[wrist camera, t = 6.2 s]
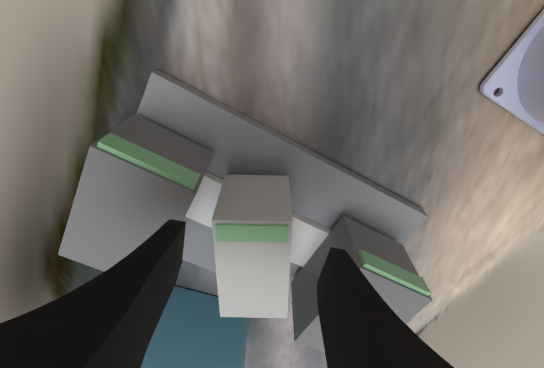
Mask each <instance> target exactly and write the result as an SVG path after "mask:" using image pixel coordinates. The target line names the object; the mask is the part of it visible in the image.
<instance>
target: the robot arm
mask: <svg viewBox="0 0 544 368" xmlns="http://www.w3.org/2000/svg"><path fill="white" fill-rule="evenodd" d="M497 88H499V91H498V93H497V94H495V95H494V91H495V90H496V89H497ZM480 92H481V94H483V95H484V96H486V97H487V98H489V99H490V100H492V101H493V102H495V103H496V104H498V105H499V106H501V107H502V108H504V109H505V110H507V111H508V112H510V113H511V114H513V115H514V116H516V117H517V118H519V119H520V120H522V121H523V122H525V123H526V124H528V125H529V126H531V127H532V128H534V129H535V130H537V131H538V132H540V133H541V134H543V135H544V9H543V10H542V12H541V13H540V14H539V15H538V16H537V18H536V19H535V20H534V21H533V22H532V24H531V25H530V26H529V27H528V28H527V30H526V31H525V32H524V33H523V34H522V36H521V37H520V38H519V39H518V40H517V42H516V43H515V44H514V45H513V46H512V48H511V49H510V50H509V51H508V52H507V54H506V55H505V56H504V57H503V58H502V60H501V61H500V62H499V63H498V64H497V66H496V67H495V68H494V69H493V70H492V71H491V73H490V74H489V75H488V76H487V77H486V79H485V80H484V81H483V82H482V84H481V85H480ZM185 227H186V222H184V221H178V220H173V219H169V220H168V221H166V222H165V223H164V224H163V225H162V226H161V227H160V228H159V229H158V230H157V231H156V232H155V233H154V234H153V235H151V236H150V237H149V238H148V239H147V240H146V241H144V242H143V243H142V244H141V245H140V246H138V247H137V248H136V249H135V250H134V251H132V252H131V253H130V254H128V255H127V256H126V257H124V258H123V259H122V260H120V261H119V262H118V263H116V264H115V265H114V266H112V267H111V268H109V269H108V270H106V271H105V272H103V273H102V274H100V275H99V276H97V277H95V278H94V279H92V280H91V281H89V282H87V283H85V284H84V285H82V286H80V287H78V288H77V289H75V290H73V291H71V292H69V293H67V294H66V295H64V296H62V297H60V298H58V299H56V300H54V301H52V302H50V303H48V304H45V305H43V306H41V307H39V308H37V309H34V310H32V311H30V312H28V313H25V314H23V315H21V316H18V317H16V318H13V319H11V320H8V321H6V322H3V323H0V368H141V365H142V362H143V359H144V356H145V353H146V350H147V348H148V345H149V343H150V340H151V338H152V336H153V333H154V331H155V329H156V327H157V324H158V322H159V320H160V318H161V315H162V313H163V311H164V309H165V306H166V304H167V302H168V300H169V297H170V295H171V293H172V291H173V288H174V286H175V283H176V280H177V277H178V274H179V270H180V267H181V264H182V258H183V248H184V238H185ZM317 305H318V313H319V319H320V325H321V331H322V337H323V343H324V349H325V355H326V360H327V367H328V368H454V367H453V366H451V365H450V364H449V363H448V362H446V361H445V360H444V359H443V358H442V357H440V356H439V355H438V354H437V353H436V352H435V351H433V350H432V349H431V348H430V347H429V346H428V345H427V344H426V343H425V342H423V341H422V340H421V339H420V338H419V337H418V336H417V335H416V334H415V333H414V332H413V331H412V330H411V329H410V328H409V327H408V326H407V325H406V324H405V323H404V322H403V321H402V320H401V319H400V318H399V317H398V316H397V315H396V314H395V312H394V311H393V310H392V309H391V308H390V307H389V306H388V304H387V303H386V302H385V301H384V300H383V299H382V297H381V296H380V295H379V294H378V292H377V291H376V290H375V289H374V287H373V286H372V285H371V284H370V282H369V281H368V280H367V278H366V277H365V276H364V274H363V273H362V272H361V270H360V269H359V267H358V266H357V265H356V263H355V262H354V261H353V259H352V258H351V256H350V255H349V254H348V252H347V251H346V250H344V249H339V248H333V247H330V250H329V253H328V255H327V258H326V261H325V263H324V266H323V269H322V271H321V274H320V277H319V279H318V282H317Z"/></svg>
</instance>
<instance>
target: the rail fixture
mask: <svg viewBox="0 0 544 368" xmlns="http://www.w3.org/2000/svg"><path fill="white" fill-rule="evenodd" d="M225 175H276V176H289V185H290V197H291V209H292V221H293V223H292V241H291V258H290V275H289V293H288V302H290V303H292V307H293V324H294V341H295V342H297V343H300V344H303V345H306V346H308V347H311V348H314V349H316V350H319V351H322V352H325V349H324V343H323V337H322V331H321V325H320V319H319V313H318V305H317V282H318V279H319V277H320V274H321V271H322V269H323V266H324V263H325V261H326V258H327V255H328V253H329V250H330V247H333V248H339V249H344V250H346V251H347V252H348V254H349V255H350V256H351V258H352V259H353V261H354V262H355V263H356V265H357V266H358V267H359V269H360V270H361V272H362V273H363V274H364V276H365V277H366V278H367V280H368V281H369V282H370V284H371V285H372V286H373V287H374V289H375V290H376V291H377V292H378V294H379V295H380V296H381V297H382V299H383V300H384V301H385V302H386V303H387V304H388V306H389V307H390V308H391V309H392V310H393V311H394V312H395V314H396V315H397V316H398V317H399V318H400V319H401V320H402V321H403V322H404V323H405V324H406V323H407V322H408V321H409V320H411V319H412V318H413V317H414V316H415V315H416V314H417V313H418V312H419V311H421V310H422V309H423V308H424V307H425V306H426V305H427V304H428V303H429V302H431V301H432V299H431V297H430V294H431V292H430V290H429V289H428V287H427V285H426V283H425V281H424V280H423V278H422V277H420V276H419V275H418V273H417V271H416V269H415V267H414V265H413V264H412V262H411V260H410V258H409V256H408V254H407V252H406V251H405V249H404V247H403V245H402V243H403V242H404V241H405V240H406V239H407V238H408V237H409V236H410V235H411V234H412V233H413V232H414V231H415V230H416V229H417V227H418V226H419V225H420V224H421V223H422V222H423V221H424V220H425V219H426V218H427V217H428V216H427V214H426V213H425V212H424V210H423V209H422V208H420V207H418V206H416V205H414V204H412V203H411V202H409V201H407V200H405V199H403V198H401V197H399V196H397V195H395V194H394V193H392V192H390V191H388V190H386V189H384V188H382V187H380V186H378V185H376V184H375V183H373V182H371V181H369V180H367V179H365V178H363V177H361V176H359V175H357V174H356V173H354V172H352V171H350V170H348V169H346V168H344V167H342V166H340V165H338V164H337V163H335V162H333V161H331V160H329V159H327V158H325V157H323V156H321V155H319V154H318V153H316V152H314V151H312V150H310V149H308V148H306V147H304V146H302V145H300V144H299V143H297V142H295V141H293V140H291V139H289V138H287V137H285V136H283V135H281V134H280V133H278V132H276V131H274V130H272V129H270V128H268V127H266V126H264V125H262V124H261V123H259V122H257V121H255V120H253V119H251V118H249V117H247V116H245V115H243V114H242V113H240V112H238V111H236V110H234V109H232V108H230V107H228V106H226V105H224V104H223V103H221V102H219V101H217V100H215V99H213V98H211V97H209V96H207V95H206V94H204V93H202V92H200V91H198V90H196V89H194V88H192V87H190V86H188V85H187V84H185V83H183V82H181V81H179V80H177V79H175V78H173V77H171V76H169V75H168V74H166V73H164V72H162V71H160V70H158V69H157V70H155V71H153V72H151V75H150V78H149V81H148V84H147V86H146V89H145V92H144V95H143V98H142V101H141V104H140V106H139V109H138V112H137V115H136V114H133V115H132V116H130V117H129V118H128V119H126V120H125V121H123V122H122V123H121V124H119V125H118V126H117V127H115V128H114V129H113V130H111V131H110V132H109V133H107V134H106V135H104V136H103V137H102V138H100V139H99V140H98V141H96V142H95V143H94V144H92V145H91V146H90V148H89V151H88V155H87V158H86V161H85V165H84V168H83V172H82V175H81V178H80V182H79V185H78V189H77V192H76V195H75V199H74V202H73V206H72V209H71V212H70V216H69V219H68V223H67V226H66V229H65V233H64V236H63V240H62V243H61V246H60V250H59V253H58V255H60V256H63V257H66V258H68V259H71V260H74V261H77V262H79V263H82V264H85V265H88V266H90V267H93V268H96V269H98V270H101V271H104V272H105V271H106V270H108V269H109V268H111V267H112V266H114V265H115V264H116V263H118V262H119V261H120V260H122V259H123V258H124V257H126V256H127V255H128V254H130V253H131V252H132V251H134V250H135V249H136V248H137V247H138V246H140V245H141V244H142V243H143V242H144V241H146V240H147V239H148V238H149V237H150V236H151V235H153V234H154V233H155V232H156V231H157V230H158V229H159V228H160V227H161V226H162V225H163V224H164V223H165V222H166V221H168V220H169V219H173V220H178V221H184V222H186V227H185V238H184V248H183V258H182V260H184V261H187V262H190V263H192V264H195V265H197V266H200V267H202V268H205V269H207V270H210V271H212V272H215V273H216V265H215V254H214V242H213V231H212V217H213V214H214V210H215V207H216V204H217V200H218V197H219V194H220V190H221V187H222V184H223V181H224V177H225Z"/></svg>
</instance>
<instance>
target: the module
mask: <svg viewBox="0 0 544 368" xmlns="http://www.w3.org/2000/svg"><path fill="white" fill-rule="evenodd" d="M292 223H293V221H292V209H291V197H290V185H289V176H276V175H225V177H224V181H223V184H222V187H221V190H220V194H219V197H218V200H217V204H216V207H215V210H214V214H213V217H212V231H213V242H214V254H215V265H216V276H217V288H218V299H219V311H220V317H248V318H287V310H288V293H289V275H290V258H291V241H292Z"/></svg>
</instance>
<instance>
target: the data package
mask: <svg viewBox="0 0 544 368" xmlns="http://www.w3.org/2000/svg"><path fill="white" fill-rule="evenodd" d="M247 328H248V317H220V311H219V299H218V297H216V296H212V295H208V294H205V293H201V292H197V291H193V290H189V289H185V288H181V287H178V286H174V288H173V291H172V293H171V295H170V297H169V300H168V302H167V304H166V306H165V309H164V311H163V313H162V315H161V318H160V320H159V322H158V324H157V327H156V329H155V331H154V333H153V336H152V338H151V340H150V343H149V345H148V348H147V350H146V353H145V356H144V359H143V362H142V365H141V368H244V362H245V351H246V339H247Z"/></svg>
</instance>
